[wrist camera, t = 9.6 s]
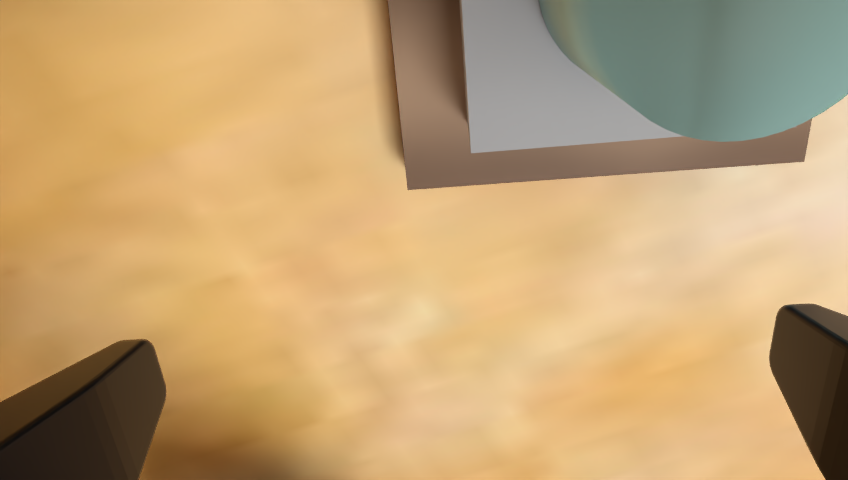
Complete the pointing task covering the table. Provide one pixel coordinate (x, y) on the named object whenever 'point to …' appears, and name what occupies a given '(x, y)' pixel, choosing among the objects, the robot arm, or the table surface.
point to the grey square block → (534, 86)
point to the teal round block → (710, 59)
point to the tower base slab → (456, 166)
